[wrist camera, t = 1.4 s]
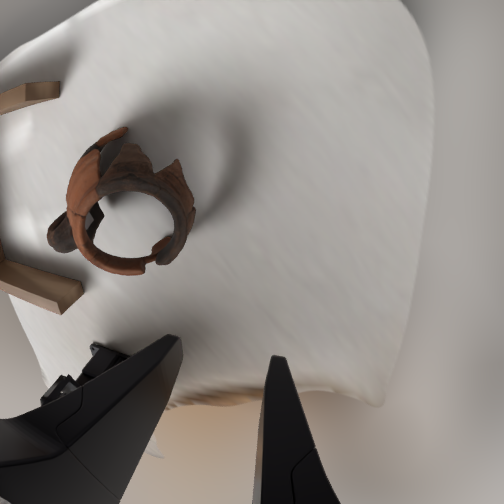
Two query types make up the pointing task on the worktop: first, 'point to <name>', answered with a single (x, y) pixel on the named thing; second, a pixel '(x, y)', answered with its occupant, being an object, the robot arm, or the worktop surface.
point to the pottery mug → (114, 180)
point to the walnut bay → (3, 271)
